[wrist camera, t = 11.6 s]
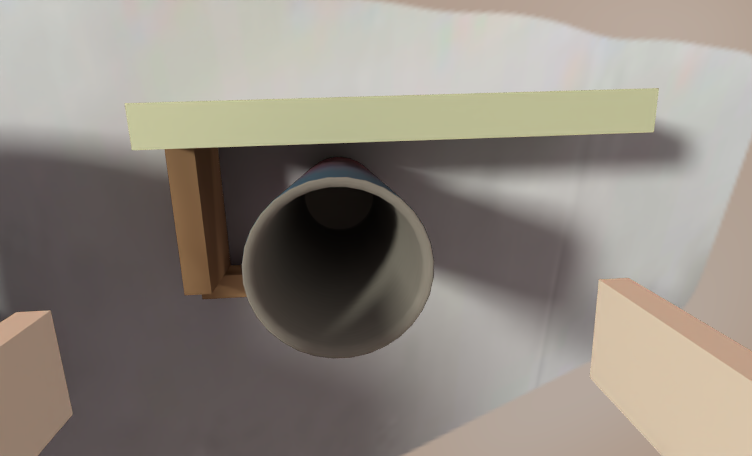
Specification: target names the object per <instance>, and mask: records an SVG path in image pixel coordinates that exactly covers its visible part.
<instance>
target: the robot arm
mask: <svg viewBox="0 0 752 456" xmlns="http://www.w3.org/2000/svg"><path fill="white" fill-rule="evenodd" d="M590 379H591V380H592V381H593V382H594V383H595V384H596V385H597V386H598V387H599V388H600V389H601V390H602V391H603V393H604V394H605V395H606V396H607V397H608V398H609V399H610V400H611V401H612V402H613V403H614V404H615V406H616V407H617V408H618V409H619V410H620V411H621V412H622V413H623V414H624V415H625V416H626V417H627V419H628V420H629V421H630V422H631V423H632V424H633V425H634V426H635V427H636V428H637V429H638V430H639V432H640V433H641V434H642V435H643V436H644V437H645V438H646V439H647V440H648V441H649V442H650V443H651V444H652V446H653V447H655V449H656V450H657V451H658V452H659V453H660V454H661V455H662V456H752V351H751V350H749V349H747V348H746V347H744V346H742V345H741V344H739V343H737V342H736V341H734V340H732V339H731V338H729V337H727V336H725V335H724V334H722V333H720V332H719V331H717V330H715V329H713V328H712V327H710V326H709V325H707V324H705V323H704V322H701V321H700V320H698V319H697V318H695V317H693V316H692V315H690V314H688V313H687V312H685V311H683V310H682V309H680V308H678V307H677V306H675V305H673V304H672V303H670V302H668V301H666V300H665V299H663V298H661V297H660V296H658V295H656V294H655V293H653V292H651V291H650V290H648V289H646V288H645V287H643V286H641V285H640V284H638V283H636V282H634V281H633V280H631V279H629V278H617V279H600V280H599V284H598V295H597V305H596V316H595V327H594V337H593V348H592V359H591V370H590ZM72 415H73V412H72V408H71V403H70V398H69V394H68V389H67V384H66V379H65V375H64V370H63V365H62V361H61V356H60V351H59V347H58V342H57V337H56V333H55V328H54V323H53V319H52V314H51V310H48V311H30V312H16V313H14V314H13V315H11V316H10V317H8V318H6V319H5V320H3V321H2V322H0V456H38V455H39V453H40V452H41V451H42V450H43V449H44V448H45V446H46V445H47V444H48V443H49V442H50V441H51V439H52V438H53V437H54V436H55V435H56V434H57V432H58V431H59V430H60V429H61V428H62V427H63V425H64V424H65V423H66V422H67V421H68V419H69V418H70V417H71V416H72Z"/></svg>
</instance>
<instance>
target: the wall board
mask: <svg viewBox="0 0 752 456" xmlns="http://www.w3.org/2000/svg"><path fill="white" fill-rule="evenodd" d="M658 91H659V88H652V89H616V90H581V91H546V92H510V93H475V94H440V95H404V96H369V97H334V98H298V99H263V100H228V101H192V102H157V103H125V109H126V116H127V122H128V129H129V135H130V142H131V148H132V150H153V149H182V148H211V147H240V146H269V145H298V144H327V143H356V142H385V141H414V140H443V139H472V138H501V137H530V136H559V135H588V134H617V133H646V132H654V126H655V117H656V108H657V99H658Z"/></svg>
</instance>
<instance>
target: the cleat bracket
mask: <svg viewBox="0 0 752 456" xmlns="http://www.w3.org/2000/svg"><path fill="white" fill-rule="evenodd" d="M165 156H166V163H167V170H168V178H169V185H170V192H171V199H172V207H173V214H174V221H175V229H176V236H177V243H178V251H179V258H180V265H181V272H182V280H183V287H184V294H185V295H199V294H202V299H217V298H235V297H247V295H246V292H245V288H244V285H243V276H242V265H231V262H230V253H229V244H228V235H227V226H226V217H225V208H224V198H223V189H222V180H221V171H220V162H219V153H218V147H211V148H182V149H165Z"/></svg>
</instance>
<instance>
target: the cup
mask: <svg viewBox="0 0 752 456" xmlns="http://www.w3.org/2000/svg"><path fill="white" fill-rule="evenodd" d="M242 276H243V285H244V288H245V292H246V295H247V298H248V301H249V303H250V305H251V307H252V309H253V311H254V313H255V314H256V316H257V318H258V319H259V320H260V321H261V323H262V324H263V325H264V326H265V327H266V329H267V330H268V331H269V332H271V333H272V334H273V335H274V336H275V337H277V338H278V339H279V340H280V341H282V342H283V343H285V344H287V345H289V346H291V347H292V348H294V349H296V350H298V351H301V352H304V353H307V354H310V355H314V356H319V357H327V358H351V357H355V356H360V355H364V354H368V353H371V352H373V351H376V350H378V349H380V348H383V347H385V346H386V345H388V344H390V343H391V342H393V341H394V340H396V339H397V338H399V337H400V336H401V335H402V334H403V333H404V332H405V331H406V330H407V329H408V328H409V327H410V326H411V325H412V324H413V323H414V322H415V320H416V319H417V317H418V316H419V315H420V313H421V312H422V310H423V308H424V306H425V304H426V301H427V299H428V297H429V295H430V291H431V286H432V282H433V278H434V258H433V252H432V247H431V242H430V239H429V237H428V235H427V232H426V230H425V227H424V225H423V224H422V222H421V221H420V219H419V218H418V216H417V215H416V213H415V212H414V211H413V210H412V209H411V208H410V207H409V206H408V205H407V204H406V203H405V202H404V201H403V200H402V199H401V198H400V197H399V196H398V195H397V194H396V193H394V192H393V191H392V190H391V189H390V188H389V187H387V186H386V185H385V184H384V183H383V182H382V181H380V180H379V179H378V178H377V177H376V176H375V175H373V174H372V173H371V172H370V171H369V170H368V169H367V168H365V167H364V166H363V165H362V164H360V163H358V162H357V161H354V160H352V159H349V158H344V157H333V158H329V159H325V160H323V161H321V162H319V163H318V164H316V165H315V166H313V167H312V168H311V169H310V170H309V171H307V172H306V173H305V174H304V175H303V176H302V177H300V178H299V179H298V180H297V181H296V182H294V183H293V184H292V185H291V186H290V187H288V188H287V189H286V190H285V191H284V192H283V193H281V194H280V195H279V196H278V197H277V198H275V199H274V200H273V201H272V202H271V203H270V204H269V205H268V206H267V208H266V209H265V210H264V211H263V212H262V213H261V214H260V215H259V217H258V219H257V220H256V222H255V223H254V225H253V227H252V228H251V230H250V232H249V235H248V238H247V241H246V244H245V246H244V252H243V260H242Z"/></svg>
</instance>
